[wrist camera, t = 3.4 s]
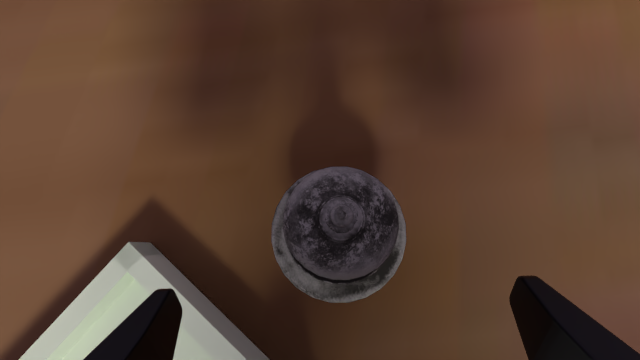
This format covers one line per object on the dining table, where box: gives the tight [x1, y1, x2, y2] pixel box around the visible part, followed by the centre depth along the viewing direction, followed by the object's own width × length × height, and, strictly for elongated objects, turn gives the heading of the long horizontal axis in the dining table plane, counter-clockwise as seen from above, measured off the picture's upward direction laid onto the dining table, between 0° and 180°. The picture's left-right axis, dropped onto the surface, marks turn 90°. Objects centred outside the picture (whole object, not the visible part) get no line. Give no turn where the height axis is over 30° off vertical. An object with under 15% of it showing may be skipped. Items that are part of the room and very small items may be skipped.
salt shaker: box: [272, 167, 406, 303], centre depth 12 cm, size 6×6×12 cm
